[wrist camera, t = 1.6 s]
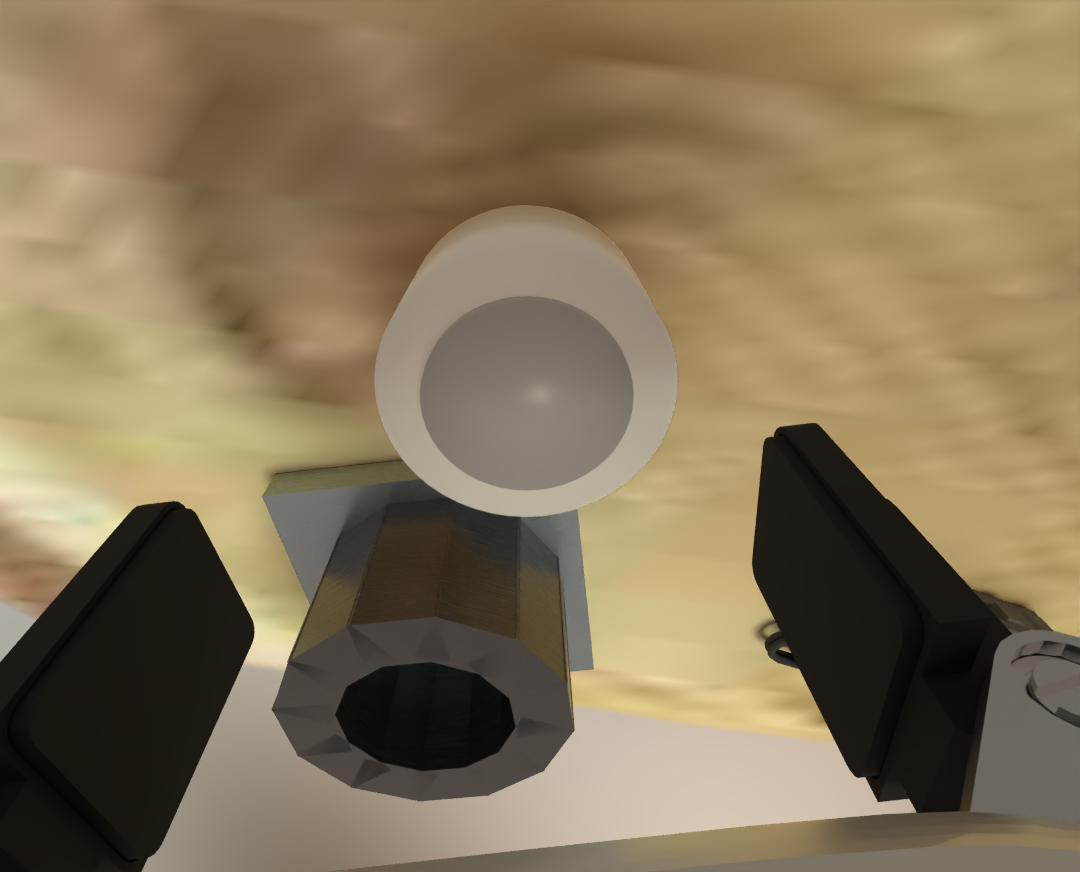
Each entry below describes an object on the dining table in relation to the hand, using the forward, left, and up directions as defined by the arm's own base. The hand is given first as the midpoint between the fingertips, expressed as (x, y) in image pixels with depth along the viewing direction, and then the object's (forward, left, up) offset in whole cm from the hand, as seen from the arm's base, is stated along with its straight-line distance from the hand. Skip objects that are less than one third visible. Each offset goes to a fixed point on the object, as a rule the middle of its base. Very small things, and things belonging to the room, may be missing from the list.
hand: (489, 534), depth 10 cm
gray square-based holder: (+4, +12, -12) cm, 18 cm away
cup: (-1, 0, -12) cm, 12 cm away
